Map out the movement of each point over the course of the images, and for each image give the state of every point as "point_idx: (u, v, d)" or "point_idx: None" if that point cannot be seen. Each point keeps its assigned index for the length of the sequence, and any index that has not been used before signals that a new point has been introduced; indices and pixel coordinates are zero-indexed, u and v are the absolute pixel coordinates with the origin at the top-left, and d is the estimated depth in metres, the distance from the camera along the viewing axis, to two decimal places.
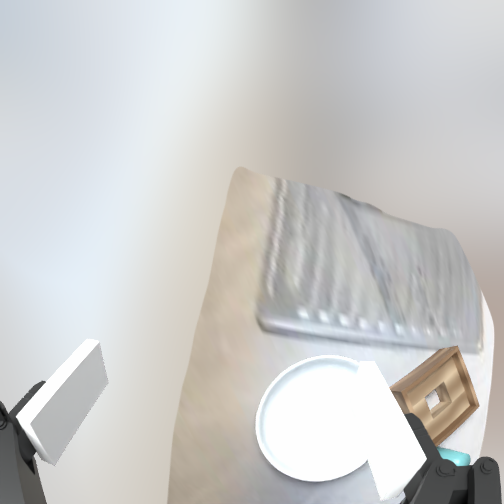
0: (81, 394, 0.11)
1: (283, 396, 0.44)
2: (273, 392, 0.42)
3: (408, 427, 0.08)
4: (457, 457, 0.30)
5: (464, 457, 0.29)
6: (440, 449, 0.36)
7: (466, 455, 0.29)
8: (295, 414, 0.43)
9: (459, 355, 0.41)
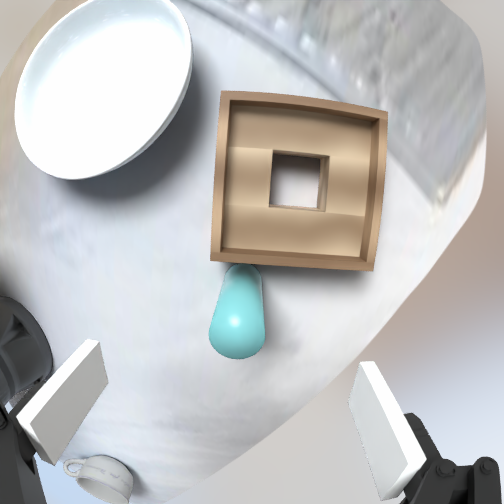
0: (81, 394, 0.11)
1: (92, 45, 0.24)
2: (79, 32, 0.22)
3: (408, 427, 0.08)
4: (236, 307, 0.21)
5: (249, 324, 0.20)
6: (247, 279, 0.27)
7: (256, 324, 0.20)
8: (91, 74, 0.26)
9: (382, 130, 0.23)
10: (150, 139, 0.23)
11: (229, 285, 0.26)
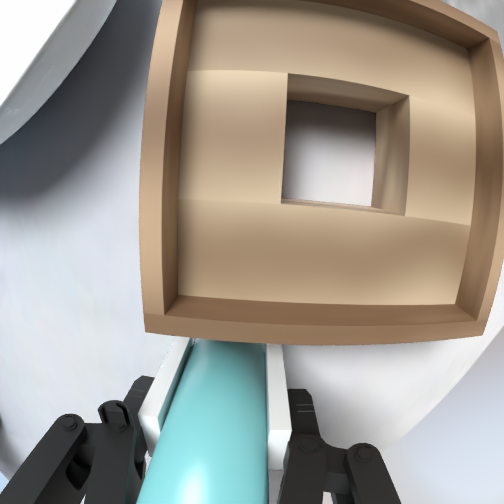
0: None
1: None
2: None
3: (287, 399, 0.11)
4: (189, 496, 0.05)
5: None
6: (232, 367, 0.11)
7: None
8: (9, 20, 0.11)
9: (498, 59, 0.07)
10: (27, 73, 0.07)
11: (191, 384, 0.10)
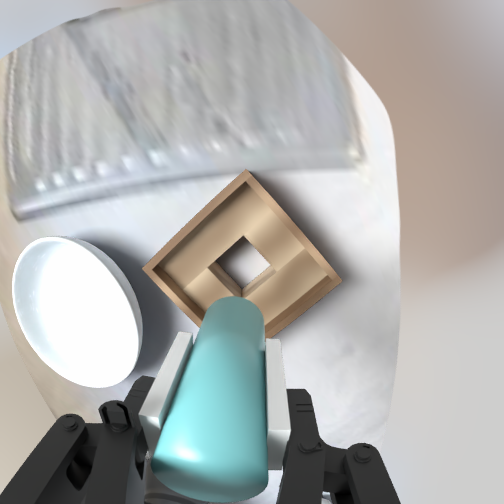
0: None
1: (47, 287, 0.35)
2: (31, 288, 0.34)
3: (286, 399, 0.11)
4: (202, 433, 0.08)
5: (233, 465, 0.07)
6: (236, 338, 0.14)
7: (250, 466, 0.07)
8: (66, 304, 0.36)
9: (256, 187, 0.27)
10: (138, 330, 0.31)
11: (201, 352, 0.13)
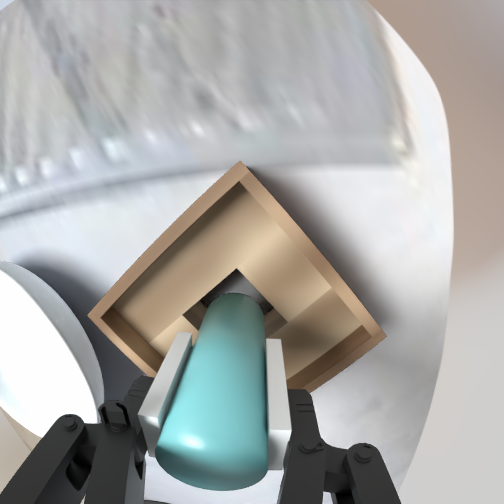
0: None
1: None
2: None
3: (287, 399, 0.11)
4: (205, 420, 0.08)
5: (234, 451, 0.08)
6: (237, 332, 0.14)
7: (250, 452, 0.08)
8: (19, 340, 0.25)
9: (257, 191, 0.16)
10: (93, 393, 0.19)
11: (204, 345, 0.13)
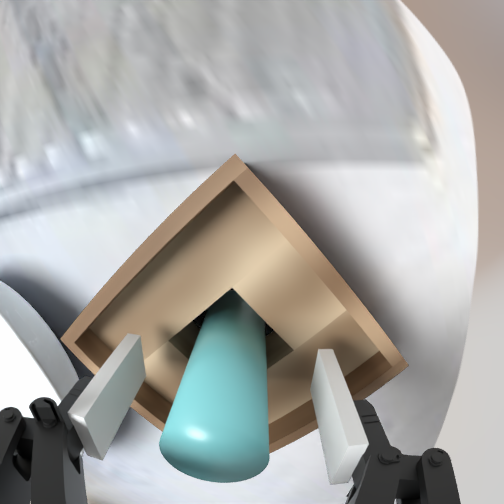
0: (125, 387, 0.12)
1: None
2: None
3: (355, 412, 0.10)
4: (208, 411, 0.09)
5: (237, 442, 0.08)
6: (239, 328, 0.15)
7: (252, 442, 0.08)
8: (1, 354, 0.21)
9: (257, 194, 0.12)
10: None
11: (206, 340, 0.14)
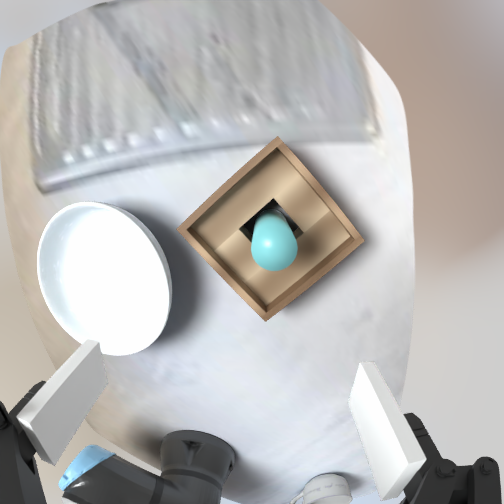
0: (81, 394, 0.11)
1: (72, 257, 0.38)
2: (56, 258, 0.36)
3: (408, 427, 0.08)
4: (273, 224, 0.26)
5: (284, 237, 0.25)
6: (277, 215, 0.32)
7: (290, 237, 0.25)
8: (92, 273, 0.39)
9: (286, 152, 0.29)
10: (169, 291, 0.33)
11: (263, 218, 0.31)
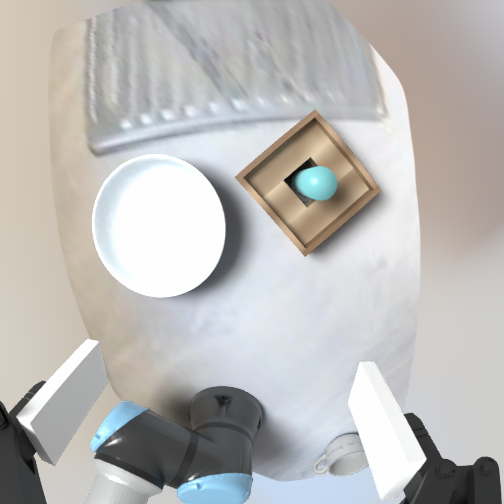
0: (81, 394, 0.11)
1: (125, 211, 0.45)
2: (109, 210, 0.43)
3: (408, 427, 0.08)
4: (319, 166, 0.33)
5: (328, 175, 0.33)
6: None
7: (332, 175, 0.33)
8: (142, 225, 0.46)
9: (322, 121, 0.37)
10: (225, 229, 0.40)
11: (305, 169, 0.38)
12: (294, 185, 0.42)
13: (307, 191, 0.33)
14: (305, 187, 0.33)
